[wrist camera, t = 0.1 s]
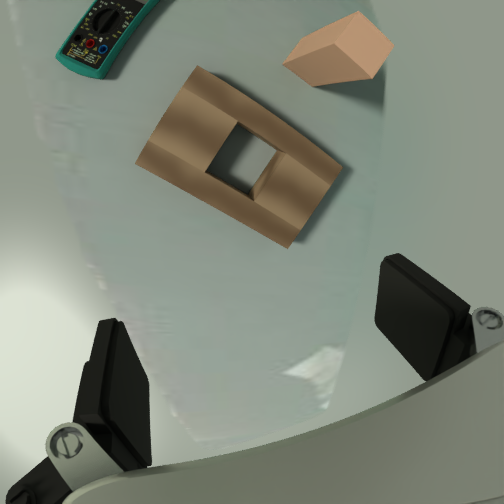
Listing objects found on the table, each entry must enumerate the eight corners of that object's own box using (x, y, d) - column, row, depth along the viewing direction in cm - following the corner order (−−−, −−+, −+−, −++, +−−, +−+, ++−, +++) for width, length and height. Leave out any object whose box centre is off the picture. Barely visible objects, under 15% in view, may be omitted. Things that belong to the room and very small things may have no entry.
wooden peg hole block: (195, 70, 33) (197, 65, 30) (330, 163, 42) (343, 167, 39) (138, 159, 36) (134, 163, 33) (279, 239, 45) (287, 249, 42)
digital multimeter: (57, 64, 28) (49, 60, 26) (124, -28, 25) (121, -37, 22) (101, 85, 31) (95, 82, 29) (169, -9, 28) (169, -17, 25)
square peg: (302, 38, 34) (358, 11, 21) (330, 60, 36) (394, 45, 23) (282, 64, 35) (333, 43, 22) (312, 86, 37) (372, 78, 25)
